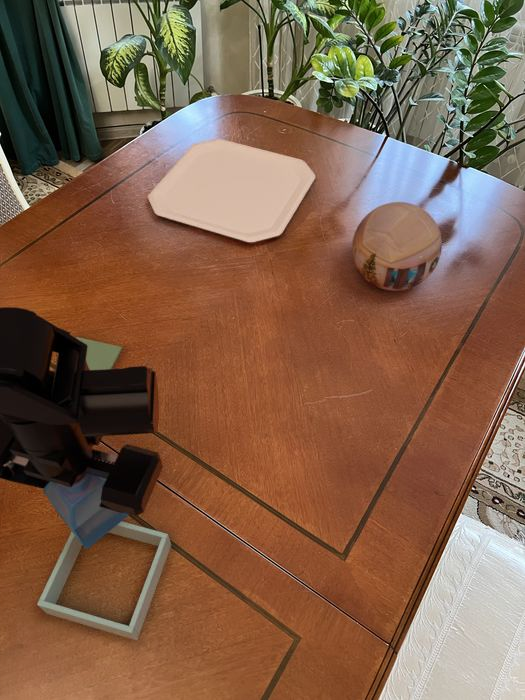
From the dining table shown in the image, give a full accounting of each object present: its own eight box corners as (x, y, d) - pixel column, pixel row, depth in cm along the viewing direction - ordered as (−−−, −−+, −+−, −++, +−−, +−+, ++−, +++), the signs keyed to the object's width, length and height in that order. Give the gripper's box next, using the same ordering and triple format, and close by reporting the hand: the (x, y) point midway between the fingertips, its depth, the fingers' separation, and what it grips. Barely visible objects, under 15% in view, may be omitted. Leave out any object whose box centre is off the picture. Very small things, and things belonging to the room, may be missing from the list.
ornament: (355, 310, 99) (369, 245, 87) (340, 252, 108) (351, 185, 97) (439, 306, 100) (464, 240, 89) (417, 248, 110) (437, 181, 98)
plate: (137, 216, 114) (135, 207, 112) (202, 141, 130) (201, 132, 128) (272, 257, 107) (272, 248, 106) (322, 172, 124) (323, 163, 122)
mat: (54, 376, 90) (53, 374, 89) (77, 338, 94) (76, 336, 94) (101, 387, 88) (101, 386, 88) (122, 348, 93) (121, 346, 93)
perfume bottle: (100, 478, 71) (78, 430, 61) (130, 513, 68) (112, 468, 59) (56, 512, 68) (26, 466, 59) (86, 549, 65) (59, 508, 56)
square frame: (46, 613, 68) (36, 604, 65) (88, 522, 75) (81, 510, 72) (137, 640, 67) (131, 633, 64) (171, 544, 74) (168, 533, 71)
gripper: (174, 377, 55) (187, 454, 68) (1, 335, 58) (44, 416, 70) (127, 480, 49) (151, 544, 61) (-66, 427, 51) (-6, 498, 64)
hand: (84, 495), depth 64 cm, fingers closed on perfume bottle, 8 cm apart
